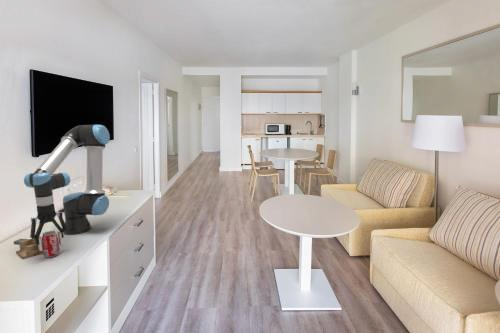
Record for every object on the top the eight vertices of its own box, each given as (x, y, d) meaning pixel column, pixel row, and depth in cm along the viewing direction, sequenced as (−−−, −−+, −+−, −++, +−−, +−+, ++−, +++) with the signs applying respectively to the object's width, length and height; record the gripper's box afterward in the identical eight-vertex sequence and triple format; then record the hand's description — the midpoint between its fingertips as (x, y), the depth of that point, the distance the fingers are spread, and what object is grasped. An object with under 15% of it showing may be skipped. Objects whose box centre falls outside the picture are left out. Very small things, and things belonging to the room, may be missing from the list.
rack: (45, 244, 188) (44, 235, 187) (53, 250, 180) (52, 240, 179) (16, 253, 178) (14, 243, 177) (23, 259, 170) (21, 248, 169)
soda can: (62, 252, 177) (59, 230, 175) (57, 257, 171) (54, 234, 169) (47, 253, 176) (44, 231, 174) (41, 259, 169) (38, 236, 167)
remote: (14, 244, 191) (13, 240, 191) (21, 241, 195) (20, 237, 195) (36, 247, 186) (35, 243, 186) (43, 244, 191) (42, 240, 190)
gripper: (65, 198, 179) (70, 239, 183) (17, 207, 164) (24, 252, 167) (70, 200, 174) (76, 242, 178) (22, 210, 159) (29, 256, 162)
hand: (51, 247), depth 173 cm, fingers open, 9 cm apart
